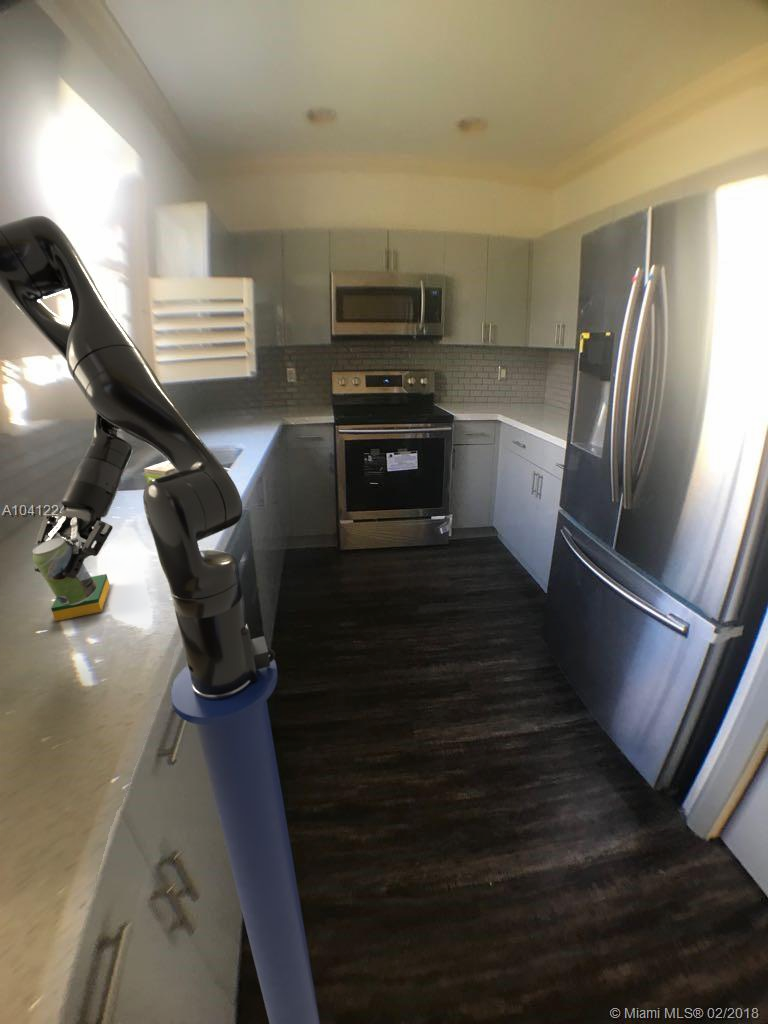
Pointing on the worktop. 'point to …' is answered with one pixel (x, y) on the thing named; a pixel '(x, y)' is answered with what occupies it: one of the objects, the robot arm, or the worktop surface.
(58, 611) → the sponge
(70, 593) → the beverage can
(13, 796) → the worktop surface
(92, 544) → the robot arm
